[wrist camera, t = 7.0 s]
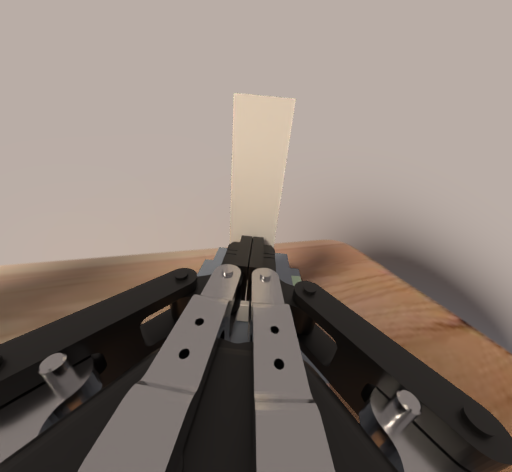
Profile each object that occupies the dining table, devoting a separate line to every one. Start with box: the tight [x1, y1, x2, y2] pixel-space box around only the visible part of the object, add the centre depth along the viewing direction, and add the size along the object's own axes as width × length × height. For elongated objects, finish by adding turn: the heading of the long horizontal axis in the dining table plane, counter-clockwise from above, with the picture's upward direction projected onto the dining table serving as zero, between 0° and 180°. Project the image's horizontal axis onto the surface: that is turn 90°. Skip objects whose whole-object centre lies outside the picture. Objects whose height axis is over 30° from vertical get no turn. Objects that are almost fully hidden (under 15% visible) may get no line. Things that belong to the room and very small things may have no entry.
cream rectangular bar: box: [230, 93, 296, 322], centre depth 14 cm, size 3×3×16 cm
